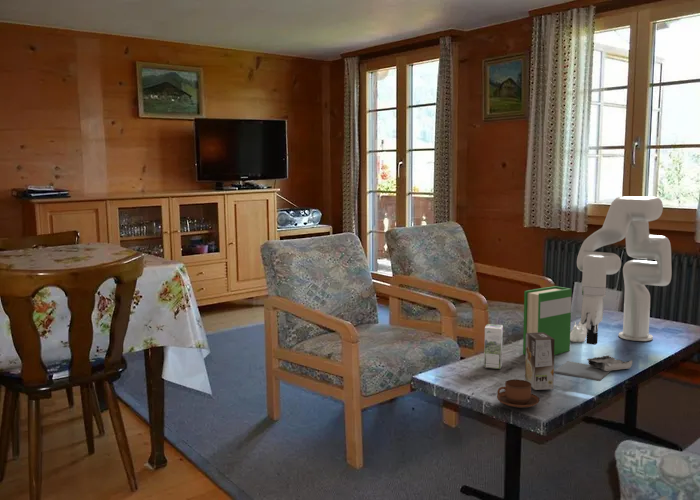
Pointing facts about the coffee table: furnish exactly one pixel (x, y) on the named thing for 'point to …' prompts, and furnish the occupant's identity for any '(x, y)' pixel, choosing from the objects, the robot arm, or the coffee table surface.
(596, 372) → the mat
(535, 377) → the coffee box
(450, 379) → the coffee table surface
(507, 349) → the coffee table surface
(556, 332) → the hardback book
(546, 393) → the coffee table surface
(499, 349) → the syrup box
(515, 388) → the cup and saucer
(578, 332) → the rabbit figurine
